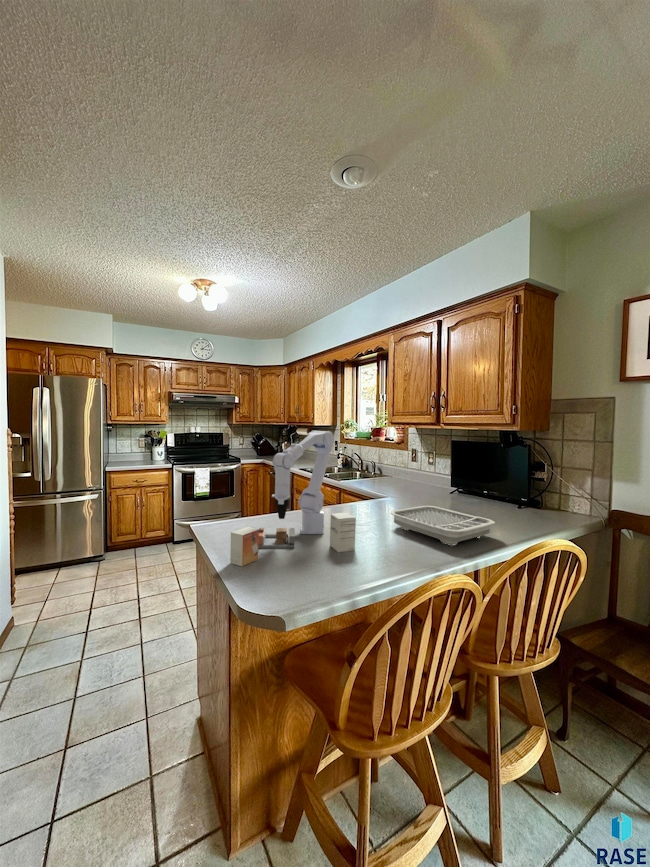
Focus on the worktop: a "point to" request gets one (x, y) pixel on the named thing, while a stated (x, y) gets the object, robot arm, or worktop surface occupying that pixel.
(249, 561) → the small box
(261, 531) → the free jaw
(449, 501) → the worktop surface
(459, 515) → the dish rack
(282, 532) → the walnut block
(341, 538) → the supplement box
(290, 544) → the vise body
